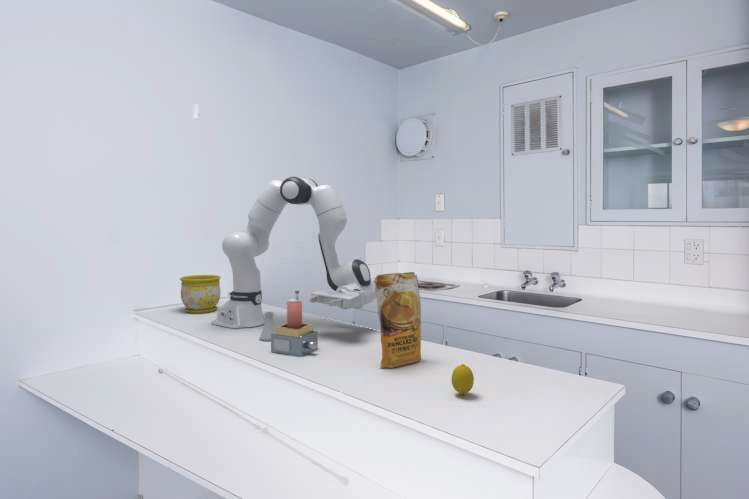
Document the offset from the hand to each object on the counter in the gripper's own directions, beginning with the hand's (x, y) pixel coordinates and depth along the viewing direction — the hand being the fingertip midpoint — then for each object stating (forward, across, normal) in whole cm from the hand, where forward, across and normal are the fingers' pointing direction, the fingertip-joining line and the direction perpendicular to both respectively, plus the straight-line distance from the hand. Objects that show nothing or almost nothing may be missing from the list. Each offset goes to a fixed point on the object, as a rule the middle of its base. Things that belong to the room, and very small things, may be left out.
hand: (320, 301), depth 167 cm
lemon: (+12, +63, +15) cm, 66 cm away
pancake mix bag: (0, +35, +15) cm, 38 cm away
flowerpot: (-4, -85, +16) cm, 87 cm away
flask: (+8, -19, +15) cm, 25 cm away
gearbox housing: (+12, +2, +15) cm, 19 cm away
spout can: (+12, 0, +9) cm, 15 cm away
